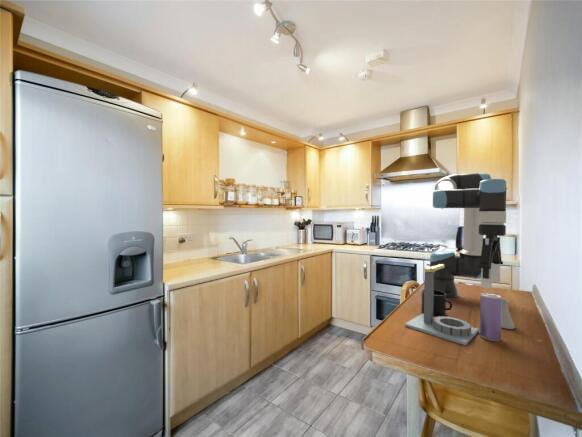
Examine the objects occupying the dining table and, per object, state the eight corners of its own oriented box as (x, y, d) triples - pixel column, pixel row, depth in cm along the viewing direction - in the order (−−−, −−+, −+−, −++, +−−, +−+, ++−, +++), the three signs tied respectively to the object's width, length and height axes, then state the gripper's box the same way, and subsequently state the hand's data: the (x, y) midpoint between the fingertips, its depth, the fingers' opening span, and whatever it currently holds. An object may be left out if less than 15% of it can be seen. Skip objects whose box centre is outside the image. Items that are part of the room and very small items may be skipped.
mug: (448, 320, 107) (449, 298, 107) (418, 312, 116) (418, 291, 116) (455, 314, 114) (455, 293, 114) (425, 307, 122) (426, 288, 122)
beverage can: (498, 343, 88) (499, 298, 88) (477, 337, 92) (478, 294, 92) (502, 338, 92) (503, 295, 92) (482, 332, 96) (482, 291, 96)
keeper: (422, 271, 102) (422, 268, 102) (437, 266, 113) (437, 263, 113) (432, 273, 100) (432, 269, 100) (446, 267, 110) (446, 265, 110)
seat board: (421, 315, 112) (422, 267, 112) (478, 331, 97) (479, 276, 97) (405, 326, 101) (405, 272, 101) (465, 345, 86) (466, 283, 86)
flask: (493, 320, 108) (493, 296, 108) (516, 326, 103) (516, 300, 103) (489, 325, 103) (490, 300, 103) (514, 331, 98) (514, 304, 97)
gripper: (487, 223, 103) (486, 277, 103) (469, 223, 86) (468, 288, 86) (512, 224, 97) (511, 281, 97) (497, 224, 80) (496, 293, 80)
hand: (490, 284), depth 92 cm, fingers open, 13 cm apart
